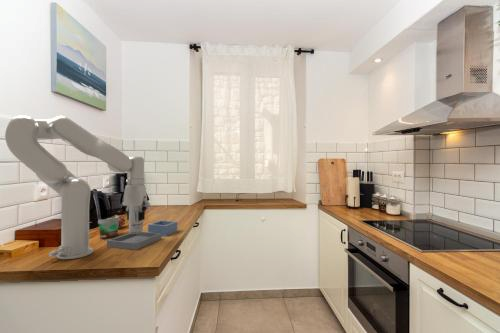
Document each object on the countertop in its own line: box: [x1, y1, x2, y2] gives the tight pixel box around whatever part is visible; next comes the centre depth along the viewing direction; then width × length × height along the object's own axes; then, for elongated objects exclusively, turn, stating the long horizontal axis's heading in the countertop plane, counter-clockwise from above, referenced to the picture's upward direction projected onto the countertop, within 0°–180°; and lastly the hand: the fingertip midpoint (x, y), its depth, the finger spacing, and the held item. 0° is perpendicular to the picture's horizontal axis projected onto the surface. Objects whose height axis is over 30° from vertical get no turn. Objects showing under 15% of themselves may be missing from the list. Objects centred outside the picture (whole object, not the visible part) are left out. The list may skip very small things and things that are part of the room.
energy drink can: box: [128, 205, 144, 234], centre depth 122 cm, size 6×6×15 cm
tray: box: [106, 231, 162, 251], centre depth 122 cm, size 18×16×3 cm
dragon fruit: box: [110, 214, 126, 230], centre depth 149 cm, size 8×8×12 cm
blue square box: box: [147, 220, 178, 237], centre depth 140 cm, size 11×11×6 cm
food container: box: [97, 214, 120, 240], centre depth 132 cm, size 12×6×10 cm, turn 168°
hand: (135, 219), depth 122 cm, fingers closed on energy drink can, 6 cm apart
